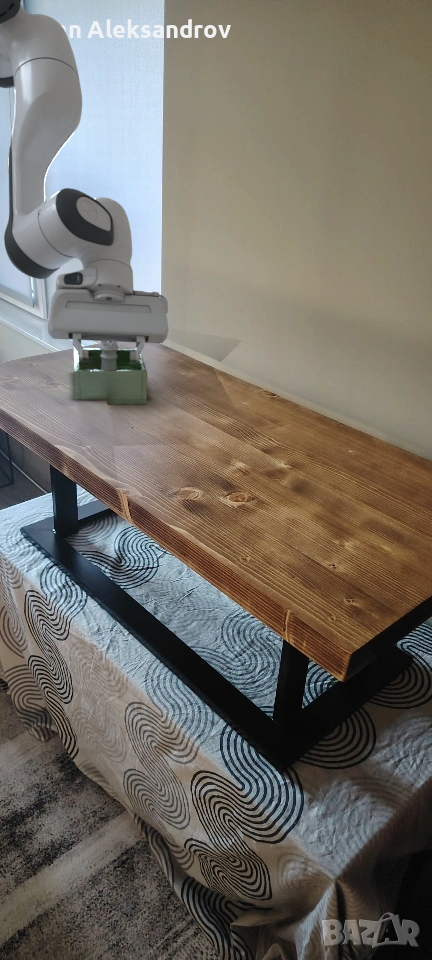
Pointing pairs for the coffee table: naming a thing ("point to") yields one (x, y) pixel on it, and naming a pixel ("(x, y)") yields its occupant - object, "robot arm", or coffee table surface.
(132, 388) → the green planter box
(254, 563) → the coffee table surface
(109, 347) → the rook chess piece
